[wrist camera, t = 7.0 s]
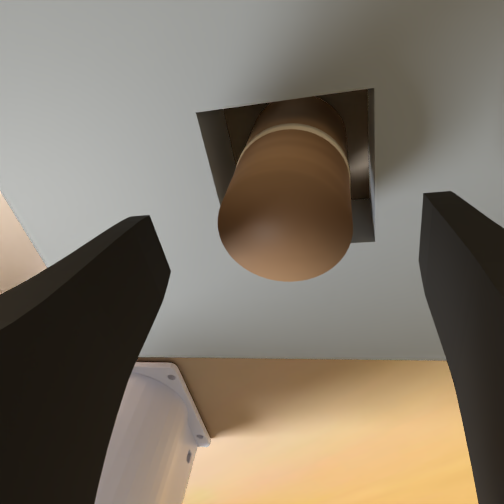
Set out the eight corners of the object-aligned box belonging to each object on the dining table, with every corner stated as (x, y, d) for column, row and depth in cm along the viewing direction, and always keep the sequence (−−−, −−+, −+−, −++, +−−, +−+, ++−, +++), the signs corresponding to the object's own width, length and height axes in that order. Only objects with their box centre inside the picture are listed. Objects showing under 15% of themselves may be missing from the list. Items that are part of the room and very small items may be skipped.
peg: (349, 181, 16) (356, 280, 11) (259, 188, 17) (231, 284, 12) (344, 86, 14) (351, 160, 9) (242, 100, 15) (201, 175, 10)
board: (565, 307, 18) (599, 362, 16) (124, 314, 23) (101, 356, 21) (817, -366, 8) (1026, -496, 5) (-81, -86, 13) (-172, -90, 11)
